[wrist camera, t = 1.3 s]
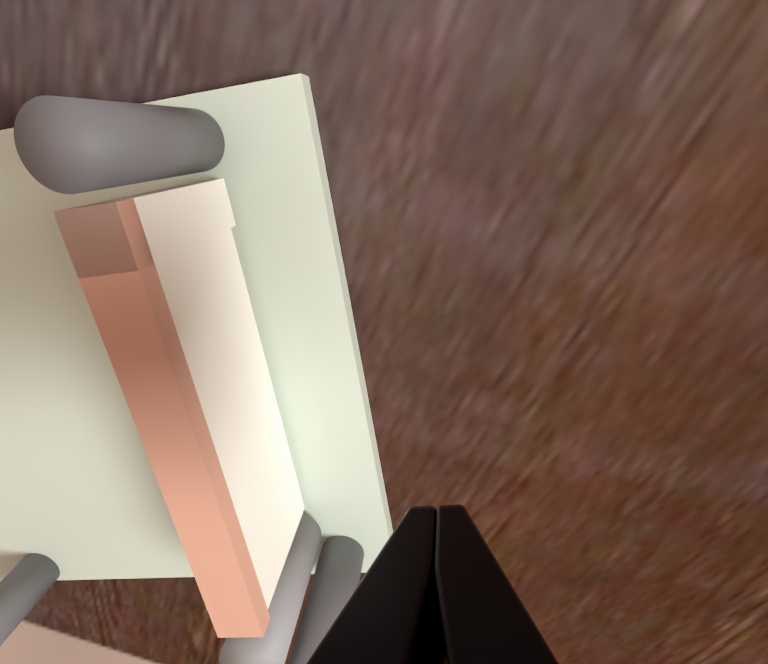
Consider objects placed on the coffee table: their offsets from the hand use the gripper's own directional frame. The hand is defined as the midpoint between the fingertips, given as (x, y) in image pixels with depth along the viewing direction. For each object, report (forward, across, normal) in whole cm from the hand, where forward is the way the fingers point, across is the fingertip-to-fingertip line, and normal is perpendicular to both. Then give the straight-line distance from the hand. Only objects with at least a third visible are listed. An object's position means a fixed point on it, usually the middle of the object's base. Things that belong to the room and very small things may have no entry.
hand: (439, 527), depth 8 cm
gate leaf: (+11, +7, +3) cm, 13 cm away
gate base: (+12, +14, +3) cm, 19 cm away
